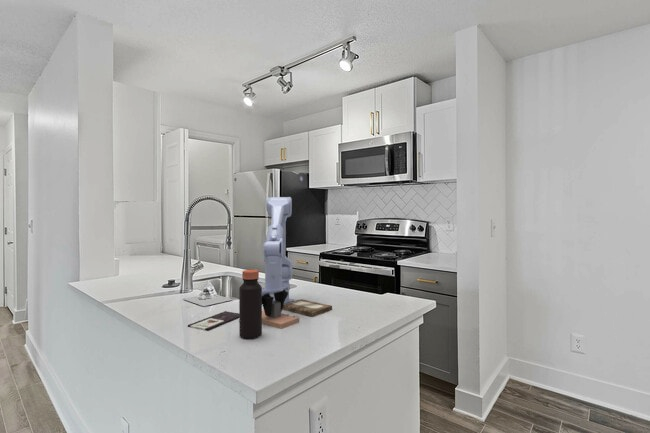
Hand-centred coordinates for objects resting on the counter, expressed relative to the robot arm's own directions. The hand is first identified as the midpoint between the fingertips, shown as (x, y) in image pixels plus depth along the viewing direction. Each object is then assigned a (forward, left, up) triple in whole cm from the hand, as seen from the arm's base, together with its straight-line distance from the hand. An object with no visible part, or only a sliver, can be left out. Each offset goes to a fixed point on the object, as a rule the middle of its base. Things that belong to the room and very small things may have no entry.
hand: (273, 313), depth 126 cm
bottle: (+5, -14, -3) cm, 16 cm away
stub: (0, 0, -2) cm, 2 cm away
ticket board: (0, +18, -2) cm, 18 cm away
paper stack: (-46, -2, -3) cm, 46 cm away
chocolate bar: (-15, -12, -3) cm, 20 cm away
